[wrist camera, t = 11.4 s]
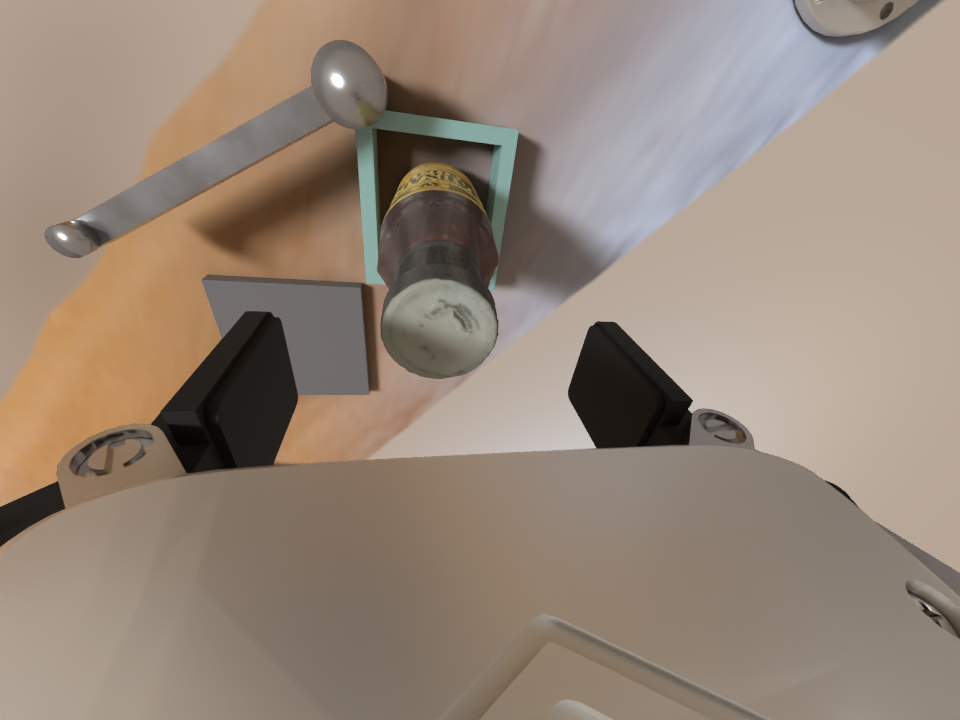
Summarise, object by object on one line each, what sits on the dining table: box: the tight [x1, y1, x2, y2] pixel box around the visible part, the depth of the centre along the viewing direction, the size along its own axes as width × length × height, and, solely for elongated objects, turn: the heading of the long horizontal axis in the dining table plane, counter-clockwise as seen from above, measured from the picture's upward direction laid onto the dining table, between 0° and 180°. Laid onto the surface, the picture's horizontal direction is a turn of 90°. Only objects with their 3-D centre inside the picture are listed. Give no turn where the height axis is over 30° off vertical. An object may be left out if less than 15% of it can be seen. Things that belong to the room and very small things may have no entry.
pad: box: [202, 275, 370, 395], centre depth 32 cm, size 12×12×1 cm
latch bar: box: [44, 40, 388, 258], centre depth 20 cm, size 4×21×3 cm, turn 113°
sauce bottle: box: [377, 162, 499, 379], centre depth 20 cm, size 7×6×20 cm
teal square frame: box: [355, 110, 519, 290], centre depth 25 cm, size 12×14×4 cm
